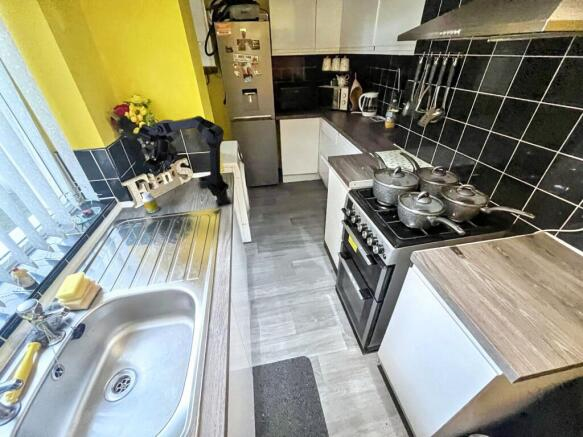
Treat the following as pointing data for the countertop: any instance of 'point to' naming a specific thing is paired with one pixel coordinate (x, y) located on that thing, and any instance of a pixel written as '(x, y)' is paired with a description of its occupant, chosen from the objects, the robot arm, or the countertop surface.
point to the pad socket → (203, 181)
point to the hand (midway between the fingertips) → (161, 172)
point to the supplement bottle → (150, 202)
